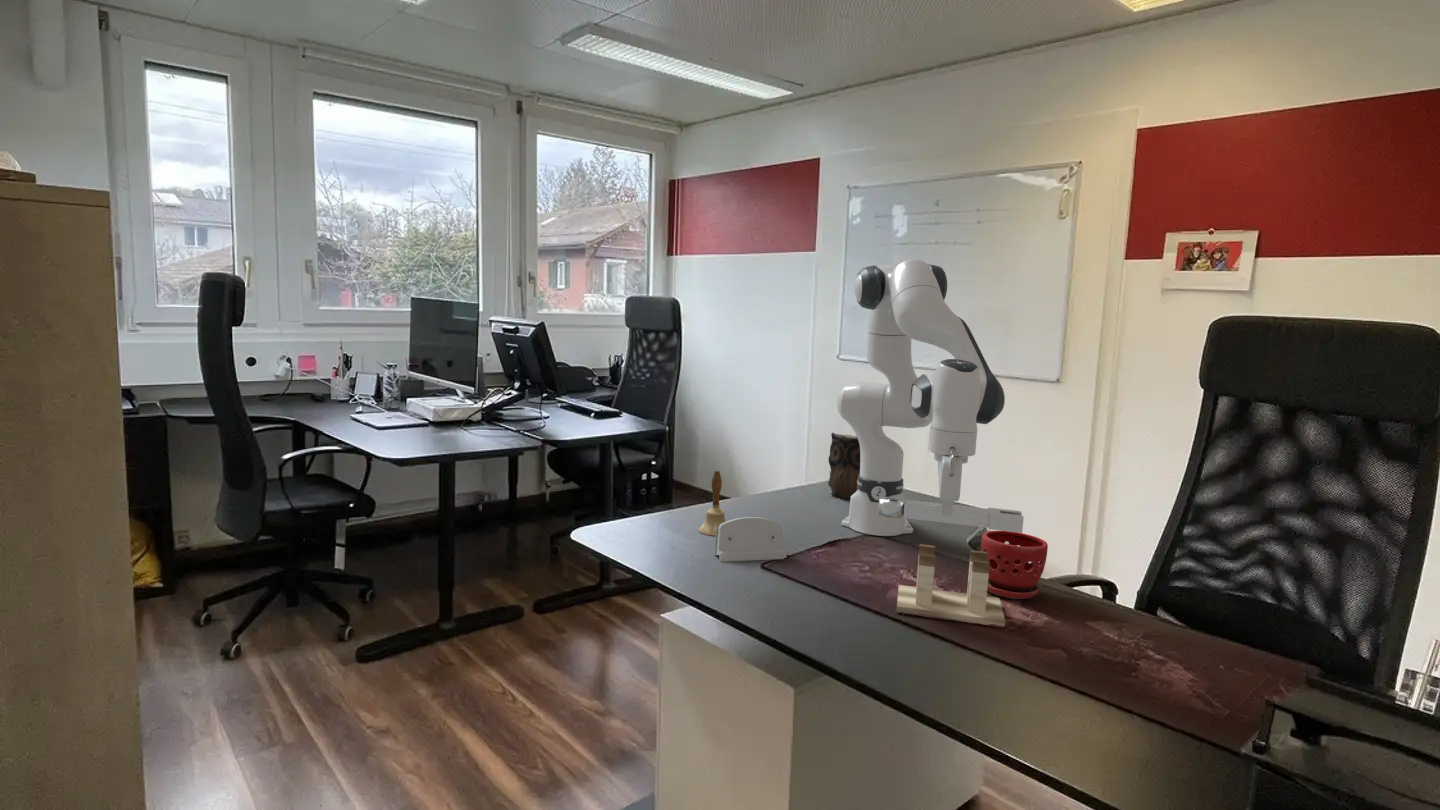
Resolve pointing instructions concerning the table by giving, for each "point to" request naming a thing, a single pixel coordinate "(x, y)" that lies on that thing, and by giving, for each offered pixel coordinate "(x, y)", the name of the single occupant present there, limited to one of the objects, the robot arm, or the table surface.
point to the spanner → (960, 514)
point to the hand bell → (714, 509)
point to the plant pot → (1014, 563)
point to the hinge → (749, 540)
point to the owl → (844, 465)
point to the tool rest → (951, 603)
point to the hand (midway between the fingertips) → (946, 512)
